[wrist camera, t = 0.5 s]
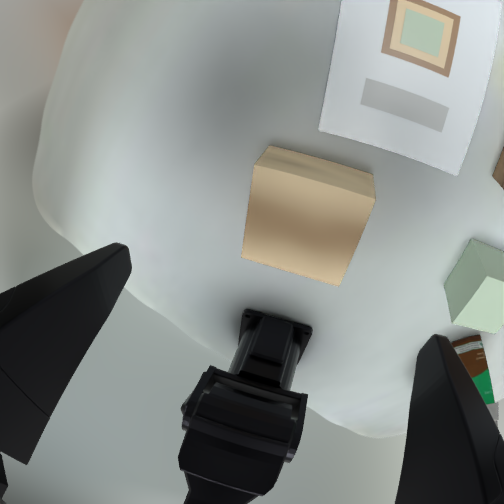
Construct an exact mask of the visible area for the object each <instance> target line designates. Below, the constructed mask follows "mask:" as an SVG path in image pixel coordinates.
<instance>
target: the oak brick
mask: <svg viewBox="0 0 504 504" xmlns="http://www.w3.org/2000/svg"><path fill="white" fill-rule="evenodd" d="M375 200H376V196H375V187H374V180H373V174H370V173H367V172H364V171H360V170H357V169H354V168H351V167H348V166H344V165H341V164H338V163H334V162H331V161H328V160H324V159H320V158H317V157H313V156H310V155H306V154H302V153H298V152H295V151H291V150H287V149H283V148H279V147H274V146H270V145H269V147H268V148H267V149H266V150H265V152H264V153H263V154H262V155H261V157H260V158H259V159H258V160H257V162H256V163H255V164H254V170H253V177H252V184H251V190H250V197H249V204H248V211H247V218H246V225H245V232H244V239H243V247H242V254H241V258H245V259H248V260H251V261H255V262H258V263H261V264H265V265H268V266H271V267H275V268H278V269H281V270H285V271H288V272H291V273H295V274H298V275H301V276H305V277H308V278H311V279H315V280H318V281H321V282H325V283H328V284H331V285H335V286H338V287H339V285H340V283H341V281H342V279H343V277H344V274H345V272H346V270H347V268H348V265H349V263H350V261H351V259H352V256H353V254H354V252H355V249H356V247H357V245H358V242H359V240H360V238H361V235H362V233H363V231H364V228H365V226H366V223H367V221H368V218H369V216H370V213H371V211H372V208H373V206H374V203H375Z"/></svg>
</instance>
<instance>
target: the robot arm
mask: <svg viewBox="0 0 504 504" xmlns="http://www.w3.org/2000/svg"><path fill="white" fill-rule="evenodd" d="M131 271H132V264H131V258H130V253H129V248H128V247H127V246H126V245H123V244H120V243H112V244H110V245H108V246H105V247H103V248H100V249H98V250H95V251H93V252H91V253H88V254H86V255H84V256H81V257H79V258H77V259H74V260H72V261H70V262H68V263H65V264H63V265H61V266H58V267H56V268H54V269H52V270H50V271H47V272H45V273H43V274H41V275H39V276H36V277H34V278H32V279H30V280H28V281H26V282H24V283H21V284H19V285H17V286H16V287H13V288H11V289H9V290H7V291H5V292H3V293H1V294H0V452H3V453H5V454H7V455H8V456H10V457H12V458H14V459H16V460H17V461H19V462H22V463H23V464H25V465H27V464H28V462H29V460H30V458H31V456H32V454H33V452H34V450H35V447H36V445H37V443H38V441H39V439H40V437H41V435H42V433H43V431H44V429H45V427H46V425H47V423H48V421H49V419H50V416H51V415H52V413H53V411H54V409H55V407H56V405H57V403H58V401H59V399H60V398H61V396H62V394H63V392H64V390H65V389H66V387H67V385H68V383H69V381H70V379H71V378H72V376H73V374H74V373H75V371H76V369H77V367H78V366H79V364H80V362H81V360H82V359H83V357H84V355H85V354H86V352H87V350H88V349H89V347H90V345H91V344H92V342H93V340H94V339H95V337H96V335H97V334H98V332H99V330H100V329H101V327H102V326H103V324H104V323H105V321H106V319H107V318H108V316H109V314H110V313H111V311H112V309H113V307H114V305H115V303H116V301H117V299H118V297H119V295H120V293H121V291H122V289H123V287H124V286H125V284H126V282H127V280H128V278H129V276H130V274H131ZM311 335H312V328H310V327H308V326H304V325H301V324H297V323H294V322H290V321H286V320H283V319H279V318H276V317H273V316H269V315H266V314H262V313H259V312H256V311H252V310H249V309H246V310H244V312H243V315H242V322H241V329H240V336H239V343H238V349H237V351H236V354H235V356H234V358H233V361H232V363H231V366H230V368H229V371H228V372H226V371H223V370H220V369H217V368H216V367H214V366H211V365H210V366H209V368H208V370H207V372H203V374H202V376H201V379H200V380H199V382H198V384H197V386H196V388H195V389H194V391H193V392H192V393H191V394H190V396H189V397H188V398H187V399H186V401H185V402H184V403H183V404H182V407H181V411H182V414H183V422H182V429H183V430H185V431H186V434H185V437H184V440H183V443H182V446H181V448H180V453H179V455H178V461H179V467H180V470H181V471H184V473H185V477H186V480H187V484H188V488H189V491H188V494H187V496H186V499H185V501H184V504H247V503H249V502H250V501H252V500H253V499H255V498H256V497H258V496H263V495H265V494H266V493H267V492H268V491H270V490H271V489H272V488H273V487H274V484H275V483H276V481H277V479H278V476H279V474H280V471H281V469H282V466H283V463H284V462H287V463H290V462H291V461H292V459H293V457H294V455H295V453H296V451H297V448H298V445H299V442H300V439H301V435H302V431H303V424H304V418H305V411H306V405H307V398H308V394H304V393H301V394H300V393H296V392H293V391H290V388H291V385H292V381H293V377H294V373H295V369H296V365H297V364H298V363H299V361H300V358H301V356H302V354H303V352H304V350H305V348H306V346H307V344H308V341H309V339H310V337H311ZM7 487H8V483H7V479H6V475H5V470H4V465H3V460H2V455H1V454H0V504H6V503H5V502H4V501H3V500H2V497H3V494H4V493H5V491H6V489H7ZM395 504H504V440H503V438H502V436H501V434H500V432H499V430H498V427H497V425H496V423H495V421H494V419H493V417H492V415H491V413H490V411H489V409H488V407H487V405H486V403H485V402H484V400H483V398H482V396H481V394H480V392H479V390H478V389H477V387H476V385H475V383H474V381H473V380H472V378H471V376H470V374H469V373H468V371H467V369H466V367H465V366H464V364H463V362H462V361H461V359H460V357H459V356H458V354H457V352H456V351H455V349H454V347H453V346H452V344H451V343H450V341H449V339H448V338H447V337H446V336H443V335H438V334H434V335H432V336H431V338H430V339H429V340H428V341H427V342H426V344H425V345H424V346H423V347H422V349H421V350H420V351H419V353H418V356H417V362H416V370H415V377H414V383H413V389H412V395H411V401H410V409H409V419H408V429H407V438H406V445H405V452H404V458H403V465H402V470H401V476H400V481H399V486H398V492H397V496H396V501H395Z"/></svg>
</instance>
